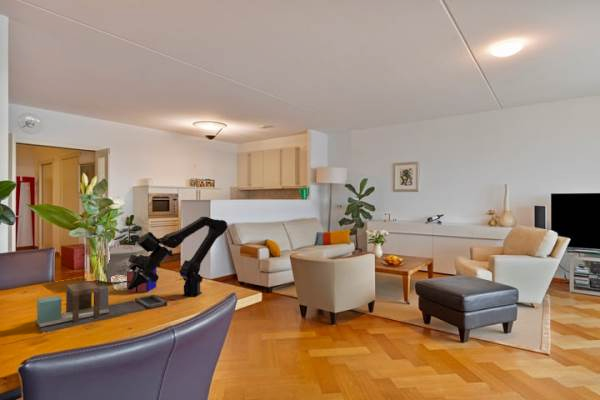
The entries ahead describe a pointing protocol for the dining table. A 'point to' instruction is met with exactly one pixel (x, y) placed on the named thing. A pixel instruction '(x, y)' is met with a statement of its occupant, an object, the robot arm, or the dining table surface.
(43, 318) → the sled
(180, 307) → the dining table surface
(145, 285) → the puzzle cube
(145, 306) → the tray
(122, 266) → the grey plant pot
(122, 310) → the grey long flat panel
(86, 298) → the tunnel
